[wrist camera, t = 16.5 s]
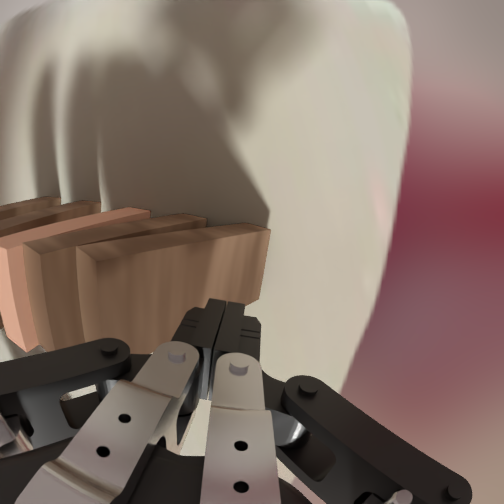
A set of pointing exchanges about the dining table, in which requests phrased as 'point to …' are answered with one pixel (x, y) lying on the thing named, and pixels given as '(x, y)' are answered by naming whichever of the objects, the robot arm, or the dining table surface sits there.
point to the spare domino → (14, 278)
